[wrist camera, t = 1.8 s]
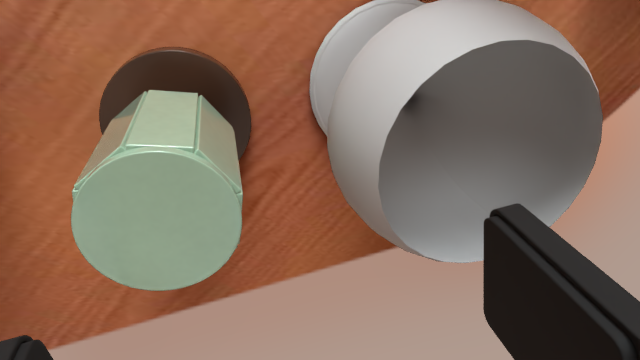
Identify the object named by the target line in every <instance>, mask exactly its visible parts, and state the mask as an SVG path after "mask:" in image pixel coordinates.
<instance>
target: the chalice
mask: <svg viewBox="0 0 640 360" xmlns="http://www.w3.org/2000/svg"><path fill="white" fill-rule="evenodd" d="M309 92H310V98H311V105H312V110H313V112H314V115H315V117H316V119H317V122H318V124H319V126H320V127H321V129H322V130H323V131H324V133H325V134H326V135H327V137H328V139H327V148H328V153H329V158H330V163H331V168H332V172H333V175H334V177H335V179H336V182H337V184H338V186H339V188H340V190H341V191H342V193H343V195H344V197H345V199H346V201H347V203H348V204H349V205H350V206H351V207H352V208H353V209H354V211H355V212H356V213H357V214H358V215H359V216H360V217H361V218H362V219H363V221H364V222H365V223H366V224H367V225H368V226H369V227H370V228H371V229H372V230H374V231H375V232H376V233H377V234H379V235H380V236H382V237H384V238H385V239H387V240H388V241H390V242H391V243H393V244H395V245H396V246H398V247H400V248H401V249H403V250H405V251H407V252H410V253H413V254H417V255H419V256H422V257H426V258H429V259H432V260H435V261H442V262H458V263H468V262H475V261H482V260H484V220H485V219H486V218H489V217H490V213H491V211H492V210H494V209H497V208H501V207H505V206H508V205H512V204H516V203H518V204H521V205H523V206H524V207H525V208H526V209H528V210H529V211H530V212H531V213H532V214H534V215H535V216H536V217H537V218H538V219H540V220H541V221H542V222H543V223H545V224H546V225H547V226H548V227H550V226H551V225H552V224H553V223H554V222H555V221H556V220H557V219H558V218H559V217H560V216H561V215H562V214H563V213H564V212H565V211H566V210H567V209H568V208H569V207H570V205H571V204H572V202H573V201H574V199H575V198H576V197H577V195H578V194H579V192H580V191H581V190H582V188H583V187H584V185H585V183H586V180H587V179H588V177H589V175H590V173H591V170H592V168H593V166H594V164H595V161H596V157H597V153H598V150H599V146H600V143H601V134H602V120H603V115H602V110H601V104H600V98H599V92H598V89H597V86H596V84H595V82H594V80H593V78H592V75H591V73H590V71H589V69H588V67H587V65H586V63H585V61H584V59H583V58H582V57H581V56H580V55H579V54H578V52H577V51H576V50H575V49H574V48H573V47H572V45H571V44H570V43H569V42H568V41H567V40H566V39H565V38H564V36H563V35H562V34H561V33H560V32H559V31H557V30H556V29H554V28H553V27H551V26H550V25H549V24H547V23H545V22H544V21H542V20H541V19H539V18H538V17H536V16H534V15H533V14H531V13H530V12H528V11H527V10H524V9H522V8H520V7H518V6H516V5H512V4H509V3H505V2H502V1H498V0H439V1H435V2H431V3H427V4H426V3H423V2H420V1H418V0H374V1H371V2H369V3H367V4H365V5H362V6H360V7H358V8H356V9H354V10H353V11H352V12H350V13H349V14H348V15H346V16H345V17H344V18H342V19H341V20H340V21H339V22H338V23H337V24H336V25H335V26H334V27H333V29H332V30H331V31H330V32H329V33H328V34H327V35H326V37H325V39H324V41H323V43H322V44H321V46H320V48H319V50H318V52H317V53H316V57H315V60H314V63H313V67H312V70H311V76H310V90H309Z"/></svg>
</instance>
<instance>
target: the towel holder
mask: <svg viewBox="0 0 640 360" xmlns="http://www.w3.org/2000/svg"><path fill="white" fill-rule="evenodd" d="M148 90H159V91H174V92H189V93H198V97H199V96H200V95H202V96H203V97H204V98H205V99H206V100H207V101H208V102H209V103H210V104H211V105H212V106H213V107H214V108H215V109H216V110H217V111H218V112H219V113H220V114H221V115H222V117H223V118H224V119H225V120H226V121H227V122H228V123H229V124H230V125H231V126H232V127H233V130H234V132H235V139H236V147H237V154H238V161H239V160H240V158H241V157H242V155H243V153H244V151H245V149H246V147H247V145H248V141H249V138H250V132H251V115H250V109H249V105H248V101H247V98H246V95H245V93H244V91H243V88H242V87H241V85H240V83H239V82H238V80H237V79H236V78H235V76H234V75H233V74H232V73H231V72H230V71H229V70H228V69H227V68H226V67H225V66H224V65H222V64H221V63H220V62H218V61H217V60H215V59H214V58H212V57H210V56H208V55H206V54H204V53H201V52H199V51H195V50H192V49H188V48H181V47H163V48H156V49H152V50H148V51H146V52H143V53H141V54H138V55H137V56H135V57H133V58H131V59H130V60H129V61H127V62H126V63H125V64H123V65H122V66H121V67H120V68H119V70H118V71H117V72H116V73H115V74H114V76H113V77H112V78H111V80H110V81H109V83H108V84H107V86H106V88H105V90H104V93H103V96H102V99H101V103H100V110H99V121H100V128H101V132H102V135H103V134H104V132H105V130H106V128H107V127H108V125H109V123H110V121H111V120H112V119H113V118H115V117H116V116H117V115H118V114H119V113H120V112H121V111H123V110H124V109H125V108H126V107H127V106H128V105H129V104H130V103H132V102H133V101H134V100H135V99H136V98H137V97H138V96H140V95H141V94H142V93H143V92H144V91H146V92H148Z"/></svg>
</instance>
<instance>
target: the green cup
mask: <svg viewBox="0 0 640 360" xmlns="http://www.w3.org/2000/svg"><path fill="white" fill-rule="evenodd" d="M72 196H73V206H72V212H71V227H72V232H73V236H74V239H75V242H76V244H77V246H78V248H79V250H80V252H81V253H82V255H83V256H84V257H85V259H86V260H87V261H88V262H89V263H90V264H91V265H92V266H93V267H94V268H95V269H96V270H98V271H99V272H100V273H101V274H103V275H104V276H106V277H108V278H109V279H111V280H113V281H115V282H118V283H120V284H123V285H126V286H128V287H132V288H137V289H141V290H150V291H165V290H174V289H180V288H184V287H187V286H191V285H193V284H196V283H198V282H201V281H202V280H204V279H206V278H208V277H210V276H211V275H212V274H214V273H215V272H217V271H218V270H219V269H220V268H221V267H222V266H223V265H224V264H225V263H226V262H227V261H228V260H229V258H230V257H231V255H232V254H233V252H234V251H235V249H236V248H237V247H238V246H237V245H238V244H239V243H240V236H241V230H242V202H243V191H242V183H241V176H240V169H239V161H238V154H237V147H236V139H235V132H234V130H233V127H232V126H231V125H230V124H229V123H228V122H227V121H226V120H225V119H224V118H223V117H222V115H221V114H220V113H219V112H218V111H217V110H216V109H215V108H214V107H213V106H212V105H211V104H210V103H209V102H208V101H207V100H206V99H205V98H204V97H203V96H202V95H200V96H199V97H198V93H189V92H174V91H159V90H148V92H146V91H144V92H143V93H142V94H141V95H140V96H138V97H137V98H136V99H135V100H134V101H133V102H132V103H130V104H129V105H128V106H127V107H126V108H125V109H124V110H123V111H121V112H120V113H119V114H118V115H117V116H116V117H115V118H113V119H112V120H111V121H110V123H109V125H108V127H107V128H106V130H105V132H104V134H103V136H102V137H101V139H100V141H99V143H98V144H97V146H96V148H95V150H94V152H93V153H92V155H91V157H90V159H89V160H88V162H87V164H86V166H85V167H84V169H83V171H82V173H81V175H80V176H79V178H78V180H77V182H76V183H75V185H74V188H73V190H72Z"/></svg>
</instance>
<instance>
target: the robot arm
mask: <svg viewBox="0 0 640 360" xmlns="http://www.w3.org/2000/svg"><path fill="white" fill-rule="evenodd" d="M484 314H485V317H486V320H487V322H488V324H489V326H490V327H491V328H492V330H493V331H494V333H495V334H496V335H497V337H498V338H499V339H500V341H501V342H502V343H503V345H504V346H505V348H506V349H507V350H508V352H509V353H510V354H511V356H512V357H513V358H514V360H640V302H639V301H638V300H637V299H636V298H634V297H633V296H632V295H631V294H630V293H628V292H627V291H626V290H625V289H624V288H622V287H621V286H620V285H619V284H618V283H616V282H615V281H614V280H613V279H611V278H610V277H609V276H608V275H606V274H605V273H604V272H603V271H602V270H600V269H599V268H598V267H597V266H596V265H594V264H593V263H592V262H591V261H590V260H588V259H587V258H586V257H584V256H583V255H582V254H581V253H579V252H578V251H577V250H576V249H575V248H573V247H572V246H571V245H570V244H569V243H567V242H566V241H565V240H564V239H563V238H561V237H560V236H559V235H558V234H557V233H555V232H554V231H553V230H552V229H550V228H549V227H548V226H547V225H546V224H545V223H543V222H542V221H541V220H540V219H538V218H537V217H536V216H535V215H534V214H532V213H531V212H530V211H529V210H528V209H526V208H525V207H524V206H523V205H521V204H518V203H516V204H512V205H508V206H505V207H501V208H497V209H494V210H492V211H491V213H490V217H489V218H486V219H485V220H484ZM0 360H53V358H52V357H51V356H50V353H49V352H48V350H47V349H46V347H45V345H44V344H43V343H42V342H41V341H40V340H33V339H32V338H31V337H29V336H27V335H23V336H19V337H16V338H12V339H8V340H4V341H1V342H0Z"/></svg>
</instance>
